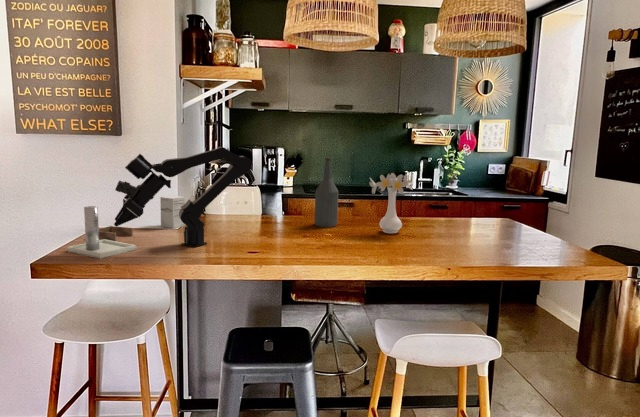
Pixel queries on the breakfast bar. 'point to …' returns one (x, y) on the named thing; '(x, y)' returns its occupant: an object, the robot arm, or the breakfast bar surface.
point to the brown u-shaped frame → (114, 232)
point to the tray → (102, 249)
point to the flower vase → (391, 200)
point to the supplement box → (171, 211)
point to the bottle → (326, 200)
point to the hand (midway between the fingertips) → (115, 222)
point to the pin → (91, 228)
